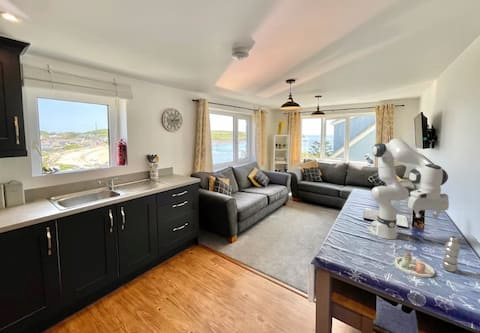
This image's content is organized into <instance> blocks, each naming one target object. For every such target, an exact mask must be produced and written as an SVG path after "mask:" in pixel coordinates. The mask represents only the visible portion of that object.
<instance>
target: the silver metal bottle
mask: <svg viewBox="0 0 480 333" xmlns="http://www.w3.org/2000/svg"><path fill="white" fill-rule="evenodd" d="M458 242H459V237H457V236H453V235H449V238H448V240H447V241H446V243H445V244H444V249H445V252H444V253H445V254H444V258H443V261H442V263H441V265H442V268H443V269H444V270H446V271H447V272H451V273H456V271H458V257H459V254H460V252H461V245H460V244H459V243H458Z"/></svg>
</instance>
